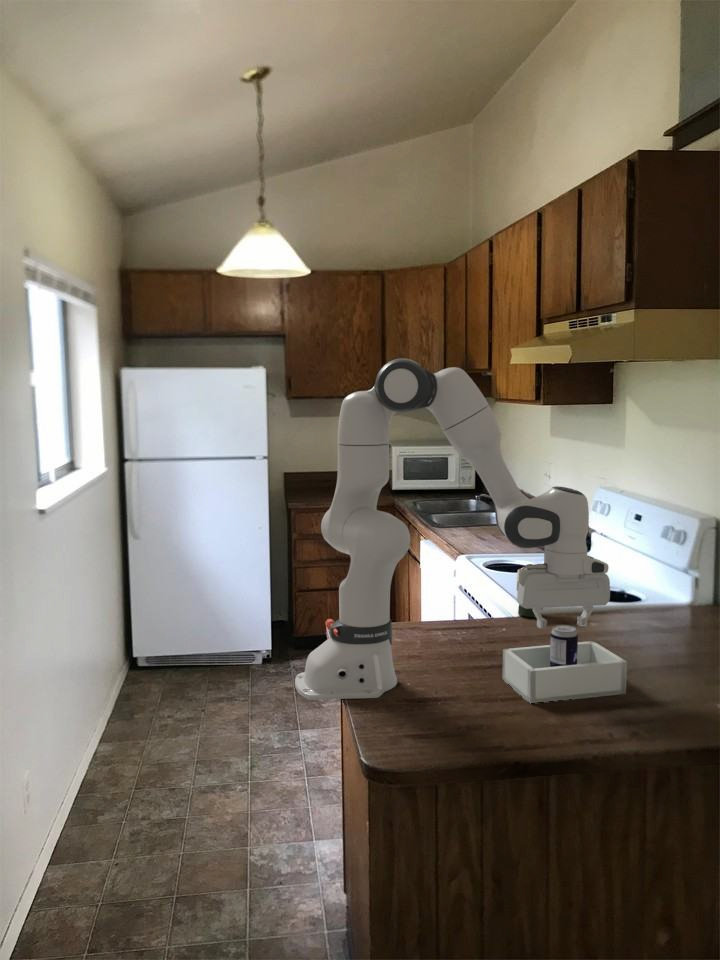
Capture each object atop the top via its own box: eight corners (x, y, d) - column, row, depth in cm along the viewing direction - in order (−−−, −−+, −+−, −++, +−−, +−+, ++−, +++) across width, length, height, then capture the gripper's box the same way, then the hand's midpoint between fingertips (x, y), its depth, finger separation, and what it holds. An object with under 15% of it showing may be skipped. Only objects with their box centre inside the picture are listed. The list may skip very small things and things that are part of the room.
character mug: (531, 609, 231) (532, 565, 229) (551, 615, 225) (552, 570, 224) (506, 616, 224) (507, 571, 223) (526, 622, 219) (527, 576, 217)
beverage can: (577, 687, 169) (579, 632, 168) (550, 685, 170) (551, 631, 169) (575, 677, 175) (577, 624, 173) (549, 676, 176) (550, 623, 174)
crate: (529, 704, 163) (530, 671, 162) (502, 679, 177) (502, 649, 176) (626, 693, 168) (627, 661, 168) (592, 670, 182) (592, 641, 181)
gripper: (526, 567, 164) (523, 633, 165) (615, 564, 168) (612, 628, 170) (513, 561, 170) (510, 624, 171) (600, 558, 175) (596, 620, 176)
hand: (561, 626), depth 171 cm, fingers open, 8 cm apart
